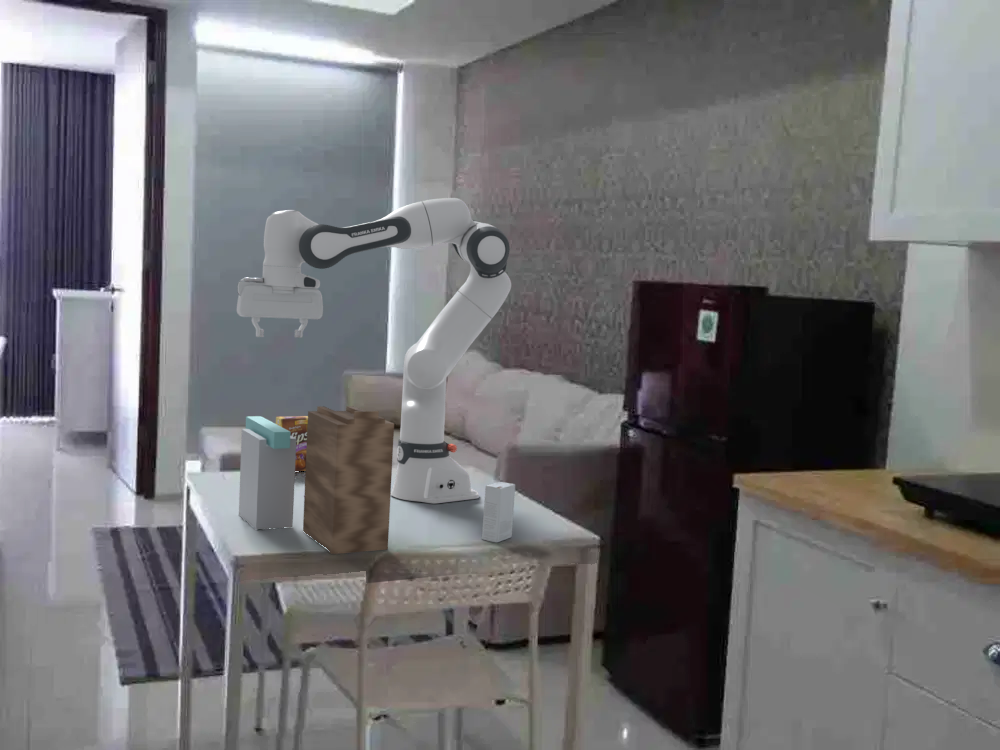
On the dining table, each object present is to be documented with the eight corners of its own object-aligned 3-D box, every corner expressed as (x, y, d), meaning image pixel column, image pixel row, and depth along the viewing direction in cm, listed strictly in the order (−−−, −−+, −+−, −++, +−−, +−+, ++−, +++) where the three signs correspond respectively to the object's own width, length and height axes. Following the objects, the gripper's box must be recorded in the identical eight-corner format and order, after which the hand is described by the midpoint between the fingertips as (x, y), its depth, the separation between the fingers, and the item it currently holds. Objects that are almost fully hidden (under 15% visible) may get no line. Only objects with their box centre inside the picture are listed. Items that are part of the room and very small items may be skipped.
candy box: (278, 474, 278) (280, 418, 277) (272, 471, 282) (274, 415, 280) (309, 472, 283) (311, 417, 282) (303, 469, 287) (305, 415, 285)
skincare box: (495, 534, 228) (498, 480, 227) (512, 538, 226) (516, 483, 224) (480, 539, 223) (483, 484, 221) (498, 543, 220) (501, 487, 219)
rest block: (273, 512, 235) (276, 428, 234) (292, 527, 223) (296, 438, 221) (238, 514, 232) (241, 428, 230) (256, 530, 219) (259, 439, 217)
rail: (260, 431, 237) (261, 416, 237) (289, 448, 218) (290, 431, 218) (245, 431, 235) (246, 416, 235) (273, 448, 216) (274, 432, 216)
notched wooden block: (355, 528, 226) (361, 399, 223) (387, 549, 211) (394, 411, 208) (302, 531, 220) (308, 399, 218) (331, 554, 205) (338, 411, 202)
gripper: (241, 277, 237) (239, 337, 238) (326, 281, 247) (324, 339, 248) (234, 276, 242) (232, 335, 243) (317, 280, 252) (315, 337, 253)
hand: (279, 337), depth 246 cm, fingers open, 8 cm apart
